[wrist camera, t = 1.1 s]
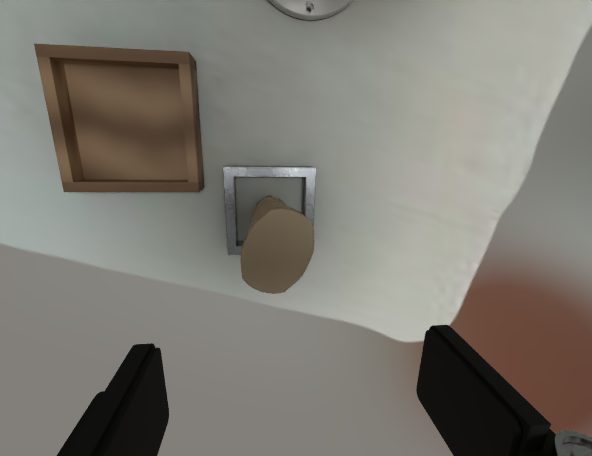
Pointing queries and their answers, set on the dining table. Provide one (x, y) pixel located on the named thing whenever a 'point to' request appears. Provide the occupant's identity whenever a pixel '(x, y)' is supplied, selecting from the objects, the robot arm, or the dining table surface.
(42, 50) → the tray
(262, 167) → the collar
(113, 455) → the robot arm
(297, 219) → the handle
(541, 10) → the dining table surface
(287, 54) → the dining table surface
